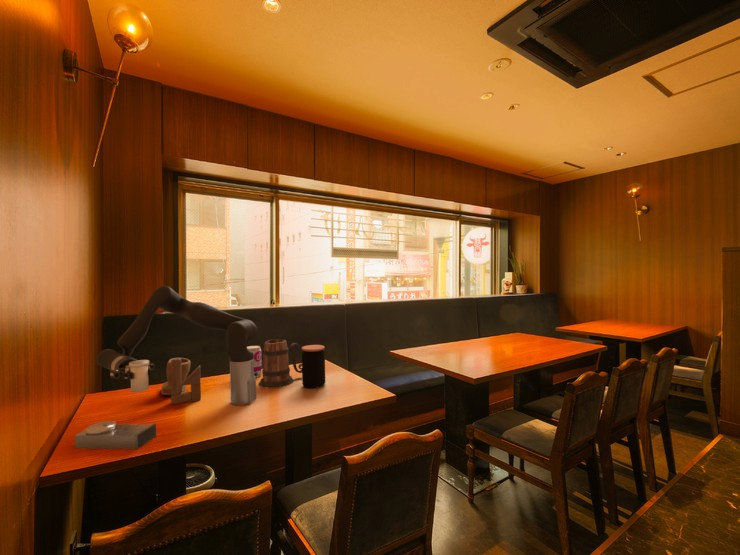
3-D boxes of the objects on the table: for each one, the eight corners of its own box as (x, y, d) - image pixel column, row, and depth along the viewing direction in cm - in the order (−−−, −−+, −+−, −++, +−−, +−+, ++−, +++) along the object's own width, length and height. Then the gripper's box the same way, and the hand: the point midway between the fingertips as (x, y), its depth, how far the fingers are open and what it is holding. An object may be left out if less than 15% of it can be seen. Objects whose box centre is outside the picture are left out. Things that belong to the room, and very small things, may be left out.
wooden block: (200, 400, 147) (199, 357, 147) (171, 404, 143) (170, 360, 142) (201, 397, 150) (200, 355, 150) (172, 401, 146) (171, 358, 146)
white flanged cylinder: (153, 387, 127) (153, 359, 127) (141, 393, 122) (141, 364, 121) (138, 387, 128) (137, 359, 128) (125, 392, 122) (124, 364, 122)
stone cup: (191, 394, 155) (190, 360, 155) (159, 399, 150) (159, 363, 150) (191, 384, 169) (190, 353, 168) (162, 388, 163) (161, 356, 163)
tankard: (265, 390, 159) (264, 346, 158) (253, 381, 172) (252, 340, 172) (312, 380, 173) (311, 339, 173) (297, 372, 186) (296, 335, 186)
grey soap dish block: (156, 436, 114) (155, 420, 114) (137, 449, 106) (137, 432, 106) (97, 436, 115) (97, 420, 115) (74, 448, 107) (74, 431, 107)
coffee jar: (330, 384, 166) (329, 346, 166) (315, 390, 157) (314, 350, 157) (312, 380, 172) (312, 343, 172) (297, 386, 163) (296, 348, 163)
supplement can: (265, 374, 184) (264, 346, 183) (253, 379, 176) (253, 349, 176) (253, 373, 187) (252, 345, 187) (241, 377, 179) (240, 348, 179)
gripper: (102, 360, 128) (117, 368, 117) (146, 353, 139) (164, 359, 128) (103, 381, 128) (118, 390, 117) (147, 372, 139) (164, 380, 129)
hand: (142, 374), depth 123 cm, fingers closed on white flanged cylinder, 5 cm apart
